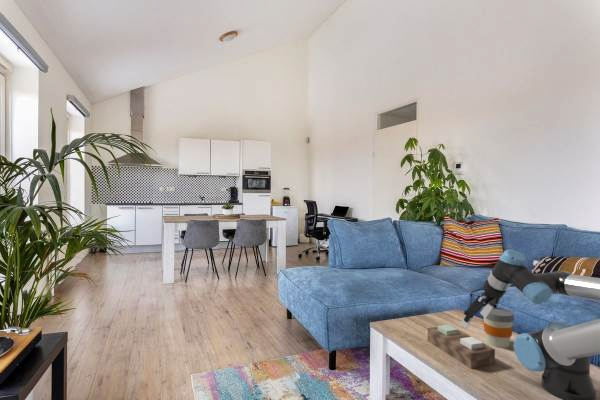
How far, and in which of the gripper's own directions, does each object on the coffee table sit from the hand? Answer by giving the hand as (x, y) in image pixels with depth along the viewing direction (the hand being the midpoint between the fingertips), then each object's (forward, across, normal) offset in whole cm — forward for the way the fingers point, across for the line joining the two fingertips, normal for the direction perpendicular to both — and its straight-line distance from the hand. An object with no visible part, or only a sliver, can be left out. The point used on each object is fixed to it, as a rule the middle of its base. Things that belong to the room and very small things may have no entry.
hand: (473, 320), depth 142 cm
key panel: (+17, +2, +2) cm, 17 cm away
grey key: (+11, +3, +7) cm, 13 cm away
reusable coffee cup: (+18, -20, +7) cm, 28 cm away
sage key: (+18, 0, -5) cm, 19 cm away
